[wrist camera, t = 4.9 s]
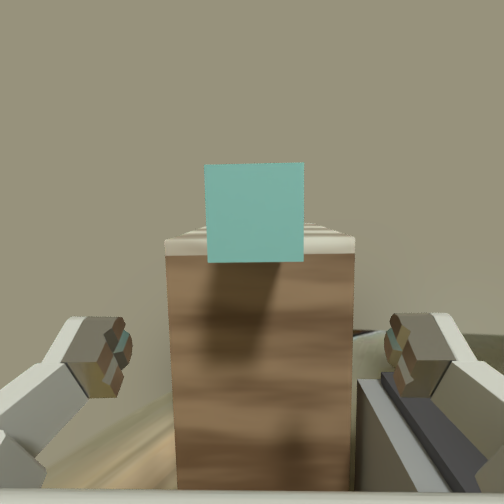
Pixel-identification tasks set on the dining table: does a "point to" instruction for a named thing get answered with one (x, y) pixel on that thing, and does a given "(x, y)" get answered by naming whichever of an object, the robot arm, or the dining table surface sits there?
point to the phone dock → (409, 444)
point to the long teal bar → (255, 212)
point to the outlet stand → (262, 366)
